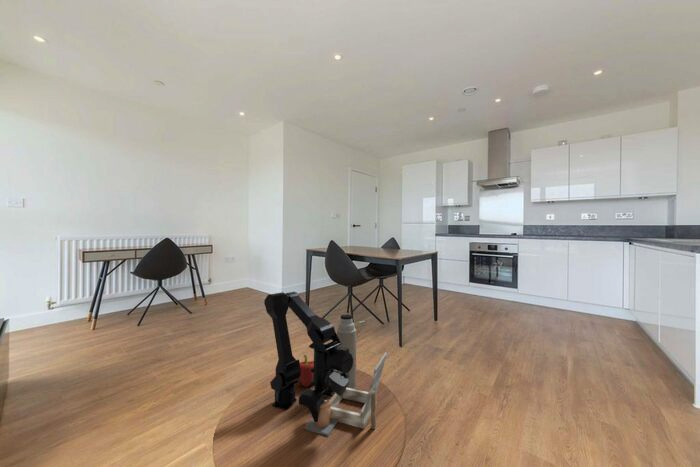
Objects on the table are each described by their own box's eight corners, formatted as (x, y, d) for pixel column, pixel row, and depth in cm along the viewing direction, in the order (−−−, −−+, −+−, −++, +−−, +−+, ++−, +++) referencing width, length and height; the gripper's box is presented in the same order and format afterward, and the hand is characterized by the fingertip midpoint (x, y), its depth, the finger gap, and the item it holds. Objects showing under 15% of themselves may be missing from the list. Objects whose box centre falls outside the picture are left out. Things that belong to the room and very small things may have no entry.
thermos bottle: (356, 380, 112) (356, 313, 113) (356, 390, 104) (356, 318, 105) (337, 379, 112) (337, 313, 114) (336, 390, 104) (336, 318, 106)
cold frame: (324, 417, 87) (324, 360, 88) (340, 395, 100) (341, 345, 101) (376, 432, 81) (376, 369, 82) (387, 406, 94) (387, 352, 95)
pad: (305, 429, 82) (305, 427, 82) (317, 414, 89) (317, 412, 89) (328, 436, 79) (328, 434, 79) (339, 419, 86) (339, 417, 86)
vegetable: (292, 378, 113) (292, 355, 114) (316, 375, 116) (316, 352, 117) (294, 392, 103) (295, 366, 103) (321, 388, 106) (321, 362, 106)
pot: (310, 425, 83) (310, 402, 83) (318, 414, 88) (319, 393, 88) (326, 430, 80) (326, 406, 81) (334, 419, 86) (334, 396, 86)
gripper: (332, 382, 73) (331, 441, 72) (356, 357, 91) (355, 405, 89) (298, 374, 77) (296, 430, 76) (327, 352, 95) (326, 398, 94)
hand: (321, 415), depth 84 cm, fingers open, 7 cm apart
